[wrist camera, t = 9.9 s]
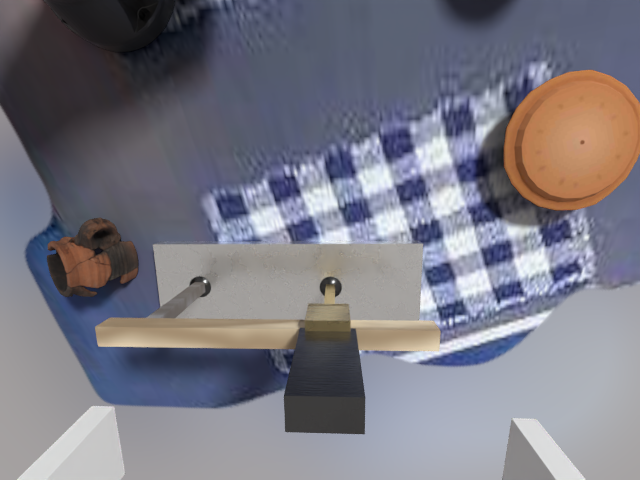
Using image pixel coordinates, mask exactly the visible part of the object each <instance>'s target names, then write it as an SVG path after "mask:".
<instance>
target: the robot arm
mask: <svg viewBox="0 0 640 480" xmlns="http://www.w3.org/2000/svg"><path fill="white" fill-rule="evenodd" d="M43 1H44V2H45V3H47V4H48V5H49V6H50V7H51V9H52V10H53V12H54V13H55V14H56V16H57V17H58V18H59V19H60V20H61V21H62V22H63V23H64V24H65V25H66V26H67V27H68V28H69V29H70V30H71V31H73V32H74V33H75V34H77V35H78V36H80V37H81V38H83V39H85V40H87V41H88V42H90V43H92V44H94V45H96V46H98V47H100V48H103V49H105V50H109V51H114V52H128V51H133V50H137V49H140V48H142V47H144V46H146V45H148V44H149V43H151V42H152V41H153V40H155V39H156V38H157V37H158V36H159V34H160V33H161V32H162V31H163V29H164V28H165V26H166V25H167V23H168V21H169V19H170V17H171V14H172V11H173V7H174V3H175V0H43ZM124 474H125V469H124V463H123V457H122V451H121V445H120V439H119V434H118V427H117V421H116V415H115V409H114V407H109V406H92V407H90V409H88V411H86V413H84V414H83V415H82V416H81V417H80V418H79V419H78V420H77V421H76V422H75V423H74V424H73V425H72V426H71V427H70V428H69V429H68V430H67V431H66V432H65V433H64V434H63V435H62V436H61V437H60V438H59V439H58V440H57V441H56V442H55V443H54V444H53V445H52V446H51V447H50V448H49V449H48V450H47V451H46V452H45V453H44V454H43V455H42V456H41V457H40V458H39V459H38V460H37V461H35V462H34V463H33V464H32V465H31V466H30V467H29V468H28V469H27V470H26V471H25V472H24V473H23V474H22V475H21V476H20V477H19V478H18V479H17V480H121V478H122V477H123V475H124ZM502 480H585V478H584V477H583V476H582V475H581V473H580V472H579V471H578V470H577V469H576V467H575V466H574V465H573V464H572V462H570V460H569V459H568V457H567V456H566V455H565V454H564V453H563V451H562V450H561V449H560V448H559V446H558V445H557V444H556V443H555V442H554V440H553V439H552V438H551V437H550V435H549V434H548V433H547V432H546V431H545V429H544V428H543V427H542V426H541V425H540V423H539V422H538V421H537V420H536V419H515V418H512V420H511V426H510V433H509V439H508V445H507V452H506V458H505V465H504V471H503V478H502Z"/></svg>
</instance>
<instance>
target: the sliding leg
mask: <svg viewBox="0 0 640 480" xmlns="http://www.w3.org/2000/svg"><path fill="white" fill-rule="evenodd" d="M284 409H285V431H286V432H304V433H305V432H306V433H342V434H365V393H364V385H363V378H362V371H361V363H360V355H359V348H358V341H357V333H356V328H351V320H350V310H349V304H335V284H326V288H325V299H324V303H308V308H307V312H306V317H305V328H300V330H299V334H298V339H297V343H296V347H295V351H294V355H293V360H292V364H291V368H290V372H289V377H288V381H287V385H286V389H285V394H284Z"/></svg>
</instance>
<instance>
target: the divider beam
mask: <svg viewBox="0 0 640 480" xmlns="http://www.w3.org/2000/svg"><path fill="white" fill-rule="evenodd" d="M204 293H205V282H194V283H193V284H191V285H190V286H189V287H187V288H186V289H185V290H183V291H182V292H181V293H179V294H178V295H177V296H175V297H174V298H172V299H171V300H170V301H168V302H167V303H166V304H164V305H163V306H162V307H160V308H159V309H158V310H156V311H155V312H153V313H152V314H151V315H149V316H148V317H147V318H109V319H107V320H106V321H104V322H102V323H101V324H99V325H97V326H96V327H95V330H96V336H97V342H98V346H102V347H173V348H244V349H295V347H296V343H297V339H298V334H299V330H300V328H305V320H297V319H189V318H176V317H177V316H178V315H180V314H181V313H182V312H183V311H184V310H185V309H186V308H188V307H189V306H190V305H191V304H192V303H193V302H194V301H196V300H197V299H198V298H199V297H200V296H201V295H202V294H204ZM351 328H356V333H357V341H358V348H359V350H387V351H439V345H440V329H439V328H438V326H437V325H436V324H435V322H434V321H405V320H351Z"/></svg>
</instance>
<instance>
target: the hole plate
mask: <svg viewBox="0 0 640 480" xmlns="http://www.w3.org/2000/svg"><path fill="white" fill-rule="evenodd" d="M153 249H154V257H155V266H156V274H157V282H158V291H159V299H160V307H162V306H163V305H164V304H166V303H167V302H168V301H170V300H171V299H172V298H174V297H175V296H177V295H178V294H179V293H181V292H182V291H183V290H185V289H186V288H187V287H189V286H190V285H191V284H193V283H194V282H205V293H204V294H202V295H201V296H200V297H199V298H198V299H197V300H196V301H194V302H193V303H192V304H191V305H190V306H189V307H188V308H186V309H185V310H184V311H183V312H182V313H181V314H180V315H178V316H177V317H176V318H189V319H297V320H305V317H306V312H307V308H308V303H324V299H325V288H326V284H335V304H349V310H350V320H405V321H419V313H420V294H421V274H422V255H423V243H422V242H420V241H161V242H158V243H156V244H153Z"/></svg>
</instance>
